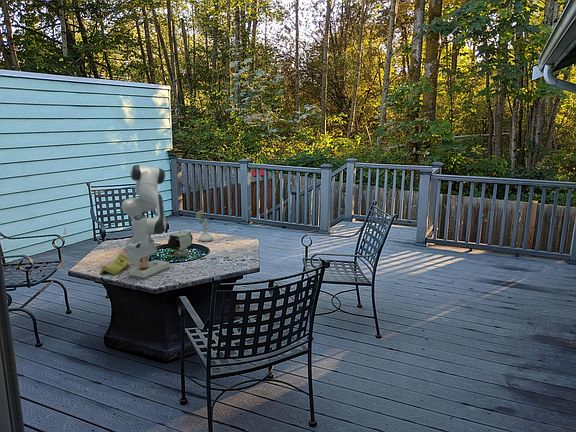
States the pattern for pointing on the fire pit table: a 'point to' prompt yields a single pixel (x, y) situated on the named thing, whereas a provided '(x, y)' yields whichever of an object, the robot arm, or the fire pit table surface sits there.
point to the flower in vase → (205, 235)
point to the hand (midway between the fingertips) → (143, 264)
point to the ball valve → (180, 242)
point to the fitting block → (149, 269)
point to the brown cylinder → (143, 263)
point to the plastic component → (116, 265)
